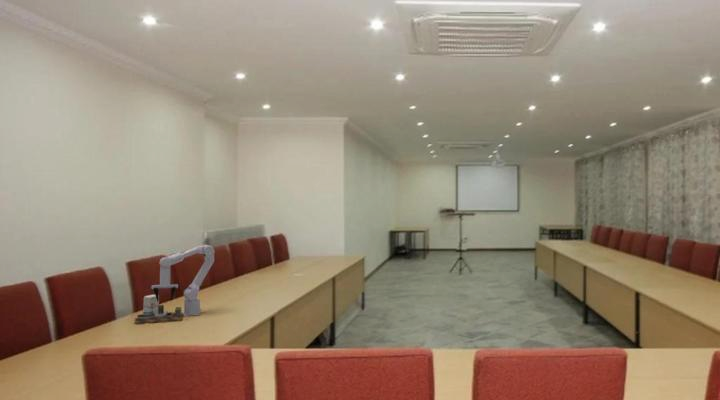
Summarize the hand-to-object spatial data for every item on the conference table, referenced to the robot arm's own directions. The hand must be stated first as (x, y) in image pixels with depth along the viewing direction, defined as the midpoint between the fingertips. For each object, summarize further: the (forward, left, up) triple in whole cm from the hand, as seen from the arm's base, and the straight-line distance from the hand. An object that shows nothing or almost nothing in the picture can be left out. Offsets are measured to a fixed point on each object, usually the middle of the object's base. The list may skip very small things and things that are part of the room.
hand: (164, 300), depth 271 cm
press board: (+2, +5, -10) cm, 12 cm away
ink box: (+9, -11, -11) cm, 18 cm away
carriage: (+1, +5, -9) cm, 10 cm away
